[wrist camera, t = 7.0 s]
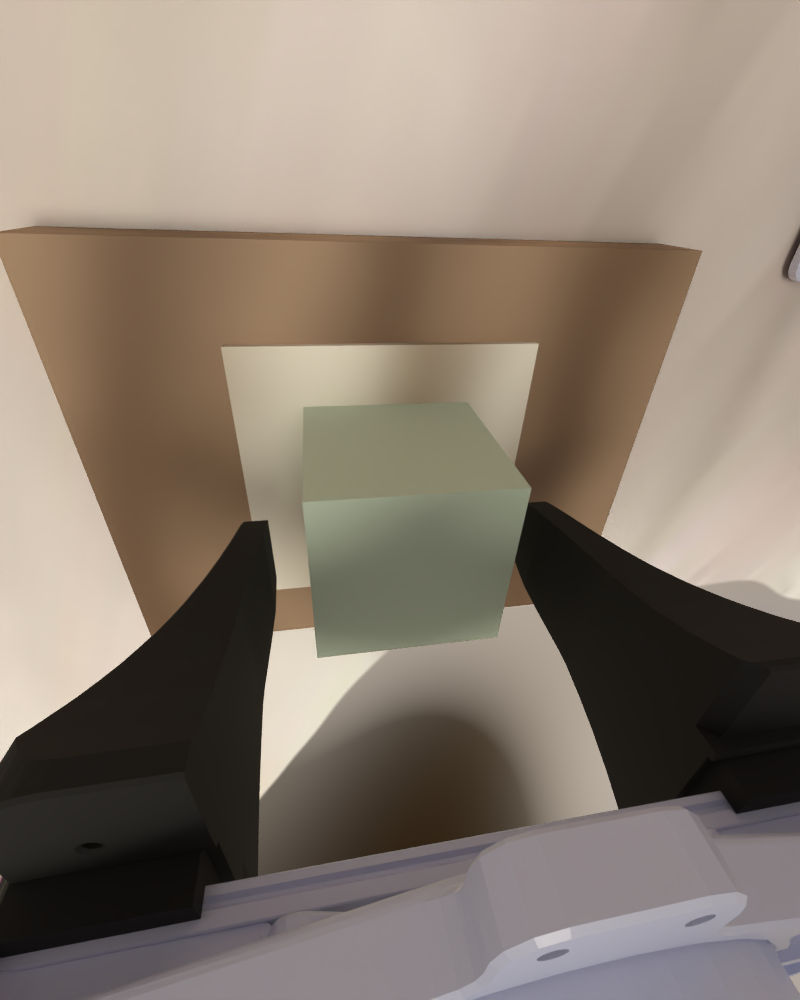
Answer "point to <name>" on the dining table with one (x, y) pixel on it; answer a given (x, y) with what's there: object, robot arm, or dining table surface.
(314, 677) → the dining table surface
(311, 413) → the sage cube
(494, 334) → the base board
